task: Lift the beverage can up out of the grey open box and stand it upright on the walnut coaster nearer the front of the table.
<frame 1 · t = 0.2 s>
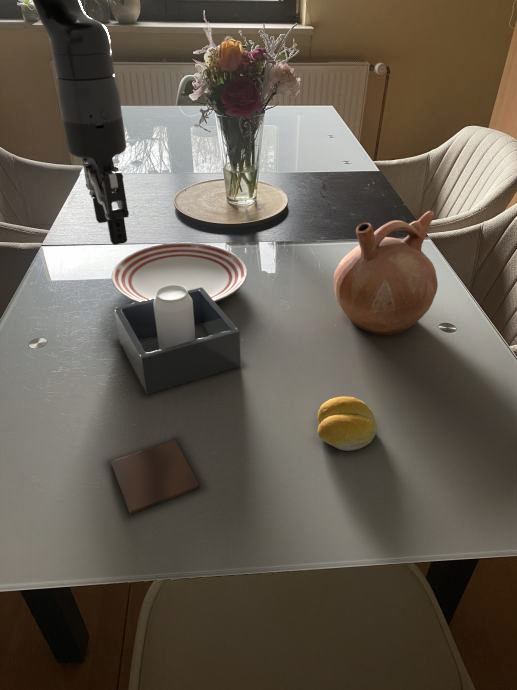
hand: (111, 231, 79), 22 cm above the table, tool pointing down, fingers open, 8 cm apart
coaster: (154, 475, 70), on the table
grey open box: (178, 353, 92), on the table
jug: (379, 318, 101), on the table
beverage can: (178, 354, 92), resting in grey open box
dinner plate: (181, 284, 112), on the table
bread roll: (344, 430, 77), on the table
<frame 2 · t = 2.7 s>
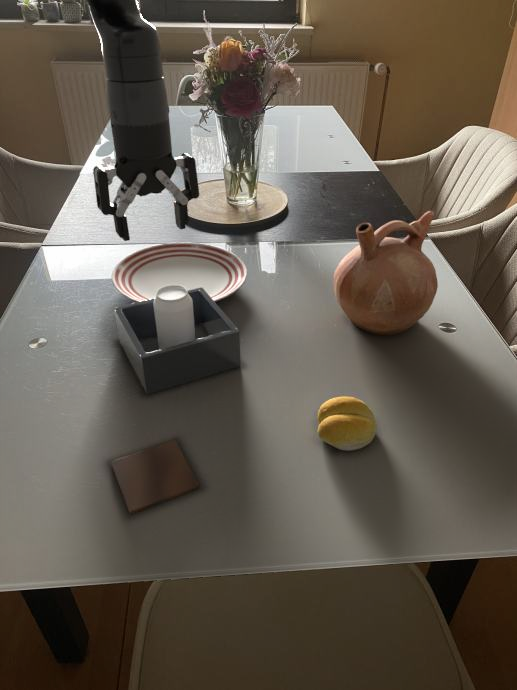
hand: (153, 233, 79), 22 cm above the table, tool pointing down, fingers open, 8 cm apart
nothing on the table moved.
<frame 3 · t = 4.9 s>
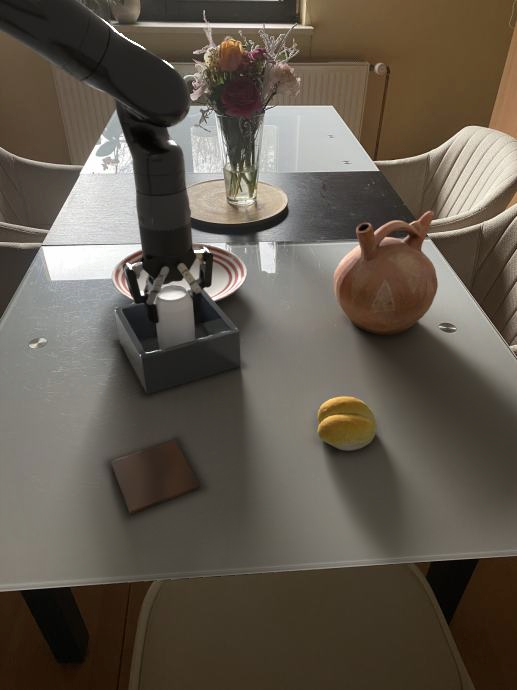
hand: (174, 315, 87), 8 cm above the table, tool pointing down, fingers closed on beverage can, 6 cm apart
beverage can: (178, 354, 92), resting in grey open box, touching gripper
everything else where it was.
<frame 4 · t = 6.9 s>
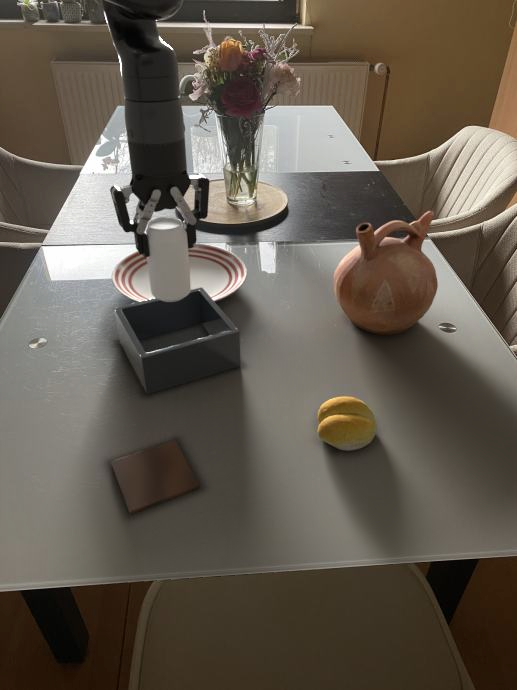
hand: (167, 250, 80), 19 cm above the table, tool pointing down, fingers closed on beverage can, 6 cm apart
beverage can: (171, 296, 85), point 11 cm above the table, touching gripper
everything else where it was.
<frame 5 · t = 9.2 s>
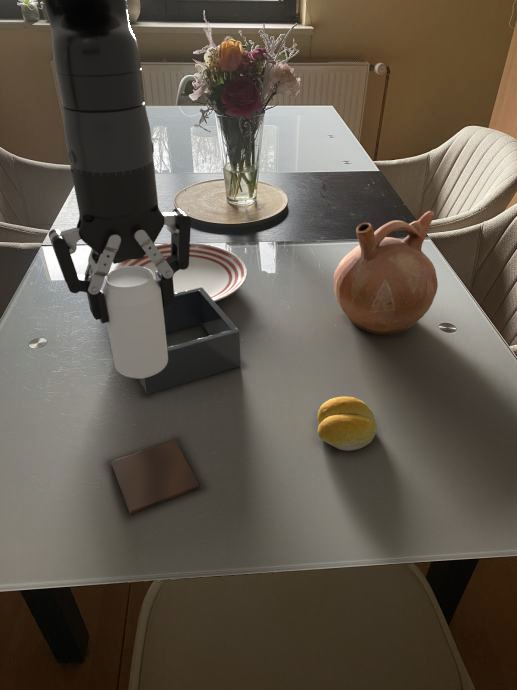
hand: (134, 311, 59), 23 cm above the table, tool pointing down, fingers closed on beverage can, 6 cm apart
beverage can: (142, 368, 63), point 15 cm above the table, touching gripper
everything else where it was.
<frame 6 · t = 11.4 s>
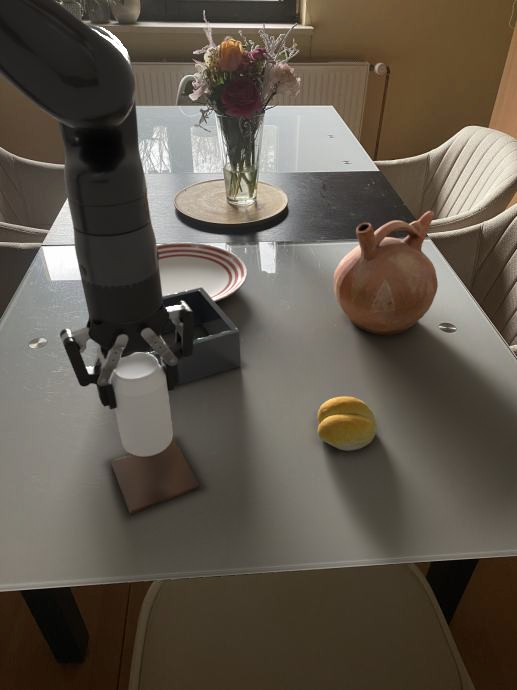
hand: (140, 395, 62), 14 cm above the table, tool pointing down, fingers closed on beverage can, 6 cm apart
beverage can: (148, 443, 66), point 6 cm above the table, touching gripper
everything else where it was.
when the fingers open (8 cm above the table, at t = 13.3 s): beverage can stays where it is, resting on coaster.
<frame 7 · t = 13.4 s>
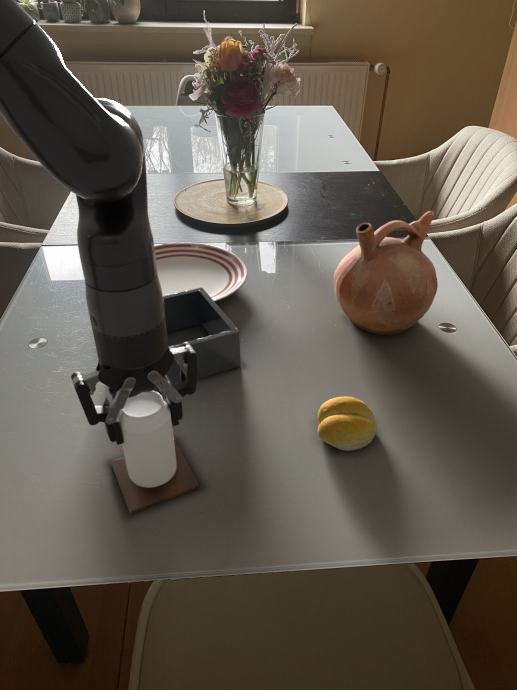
hand: (146, 430, 65), 8 cm above the table, tool pointing down, fingers open, 6 cm apart
beverage can: (153, 473, 69), resting on coaster
everything else where it was.
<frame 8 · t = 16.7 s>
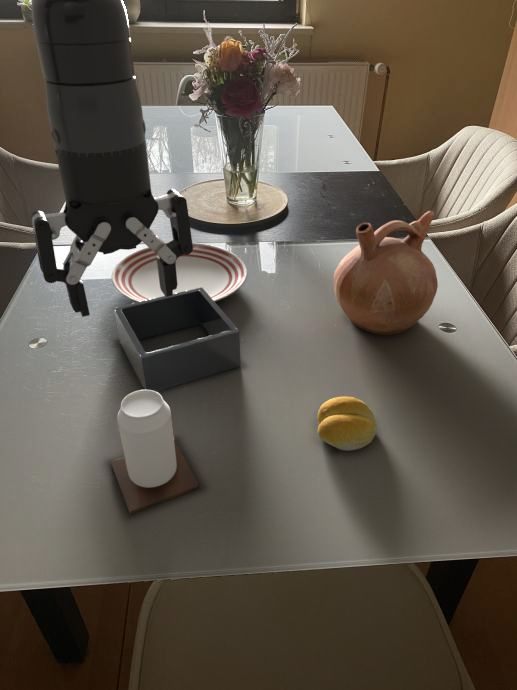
hand: (126, 302, 55), 26 cm above the table, tool pointing down, fingers open, 8 cm apart
nothing on the table moved.
at the end: beverage can 0.1 cm off-centre on the coaster, point 0.3 cm above the coaster's base; beverage can tilted 0°; beverage can touching coaster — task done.
